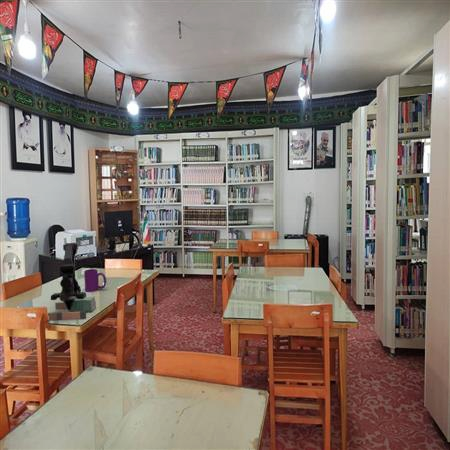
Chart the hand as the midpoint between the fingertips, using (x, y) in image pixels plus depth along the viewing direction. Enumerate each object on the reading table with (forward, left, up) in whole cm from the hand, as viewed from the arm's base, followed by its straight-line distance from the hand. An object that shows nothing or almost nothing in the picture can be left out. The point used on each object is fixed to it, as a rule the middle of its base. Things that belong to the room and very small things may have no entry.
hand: (69, 310), depth 209 cm
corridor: (-1, 0, -2) cm, 2 cm away
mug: (-51, +1, -3) cm, 51 cm away
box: (-6, +6, -2) cm, 9 cm away
